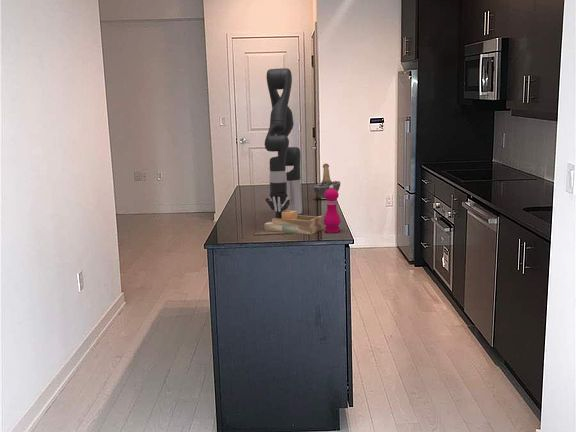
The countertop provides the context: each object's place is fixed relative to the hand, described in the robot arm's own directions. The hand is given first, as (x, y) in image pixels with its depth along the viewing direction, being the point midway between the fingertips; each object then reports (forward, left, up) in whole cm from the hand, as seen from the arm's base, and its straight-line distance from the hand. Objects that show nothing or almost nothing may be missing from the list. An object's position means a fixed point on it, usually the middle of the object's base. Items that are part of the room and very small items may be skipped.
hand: (279, 219), depth 272 cm
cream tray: (0, +7, -4) cm, 8 cm away
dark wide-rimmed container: (-80, -14, -4) cm, 81 cm away
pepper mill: (-3, +24, -4) cm, 25 cm away
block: (0, +5, -1) cm, 5 cm away
